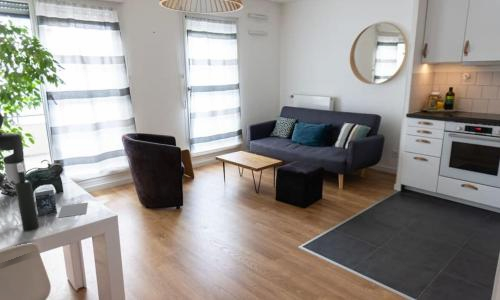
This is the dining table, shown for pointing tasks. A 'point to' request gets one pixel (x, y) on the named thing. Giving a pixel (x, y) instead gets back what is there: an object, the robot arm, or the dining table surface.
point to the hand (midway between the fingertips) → (25, 197)
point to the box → (45, 202)
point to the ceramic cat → (46, 177)
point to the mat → (73, 210)
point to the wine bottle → (26, 201)
